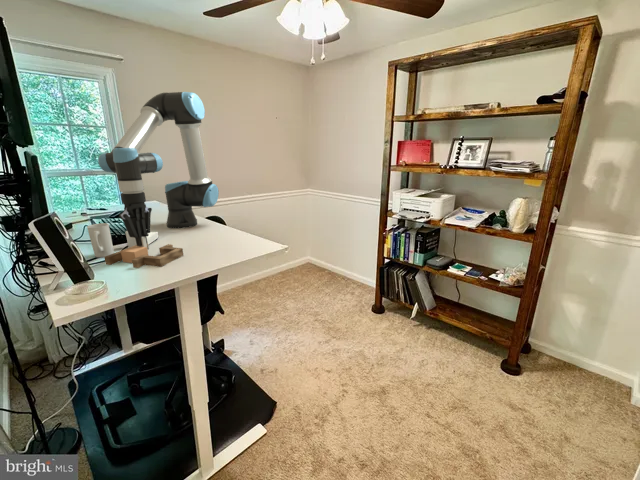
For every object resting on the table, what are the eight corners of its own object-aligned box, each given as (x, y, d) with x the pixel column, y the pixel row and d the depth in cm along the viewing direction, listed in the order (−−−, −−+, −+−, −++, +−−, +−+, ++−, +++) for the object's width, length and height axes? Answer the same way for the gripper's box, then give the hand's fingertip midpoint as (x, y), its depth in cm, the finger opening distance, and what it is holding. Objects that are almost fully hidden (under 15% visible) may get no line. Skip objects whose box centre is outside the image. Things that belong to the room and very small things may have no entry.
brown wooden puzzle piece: (144, 248, 126) (143, 242, 125) (188, 252, 121) (187, 245, 120) (106, 264, 109) (104, 256, 108) (154, 270, 104) (153, 262, 103)
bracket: (146, 248, 128) (143, 231, 125) (128, 248, 127) (125, 231, 125) (158, 239, 140) (156, 223, 138) (142, 239, 139) (139, 223, 137)
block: (136, 256, 117) (133, 245, 116) (149, 258, 116) (147, 247, 115) (123, 262, 112) (120, 250, 110) (136, 263, 110) (134, 252, 109)
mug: (97, 253, 121) (90, 224, 117) (116, 251, 123) (110, 222, 120) (89, 261, 112) (81, 230, 109) (110, 259, 114) (103, 228, 111)
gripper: (138, 189, 117) (148, 247, 124) (108, 194, 105) (121, 257, 112) (154, 189, 115) (164, 248, 122) (125, 195, 103) (138, 259, 110)
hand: (143, 252), depth 117 cm, fingers closed
